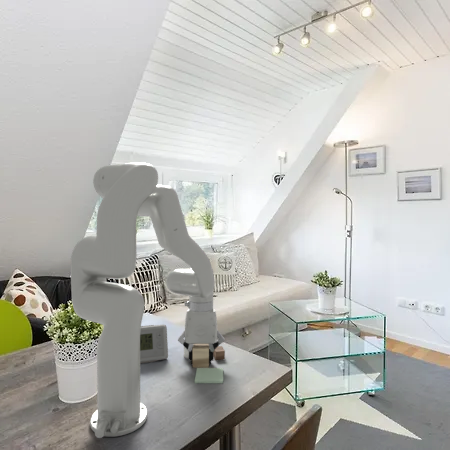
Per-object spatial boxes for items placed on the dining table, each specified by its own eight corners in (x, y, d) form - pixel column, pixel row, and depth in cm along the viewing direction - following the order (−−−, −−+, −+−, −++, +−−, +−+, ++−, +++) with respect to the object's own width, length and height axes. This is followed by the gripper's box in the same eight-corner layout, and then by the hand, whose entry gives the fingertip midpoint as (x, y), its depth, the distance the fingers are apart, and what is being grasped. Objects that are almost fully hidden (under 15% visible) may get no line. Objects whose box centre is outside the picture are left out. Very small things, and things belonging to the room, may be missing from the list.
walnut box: (224, 359, 112) (224, 350, 112) (215, 360, 111) (215, 351, 111) (221, 354, 116) (221, 346, 116) (213, 355, 115) (213, 346, 115)
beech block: (208, 367, 106) (208, 348, 106) (192, 367, 106) (192, 348, 106) (209, 360, 111) (209, 342, 111) (193, 360, 111) (194, 342, 111)
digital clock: (114, 367, 106) (114, 333, 106) (119, 355, 115) (119, 323, 115) (167, 364, 108) (167, 331, 108) (168, 353, 117) (168, 322, 117)
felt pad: (223, 383, 97) (223, 381, 97) (194, 383, 97) (194, 381, 97) (223, 369, 105) (223, 368, 105) (197, 369, 105) (197, 367, 105)
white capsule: (196, 358, 113) (196, 343, 112) (183, 358, 113) (183, 343, 112) (197, 353, 117) (197, 338, 117) (184, 353, 117) (184, 338, 117)
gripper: (172, 309, 104) (172, 367, 105) (228, 309, 104) (228, 368, 105) (175, 302, 112) (175, 357, 113) (228, 302, 112) (227, 357, 113)
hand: (201, 361), depth 109 cm, fingers closed on beech block, 5 cm apart
